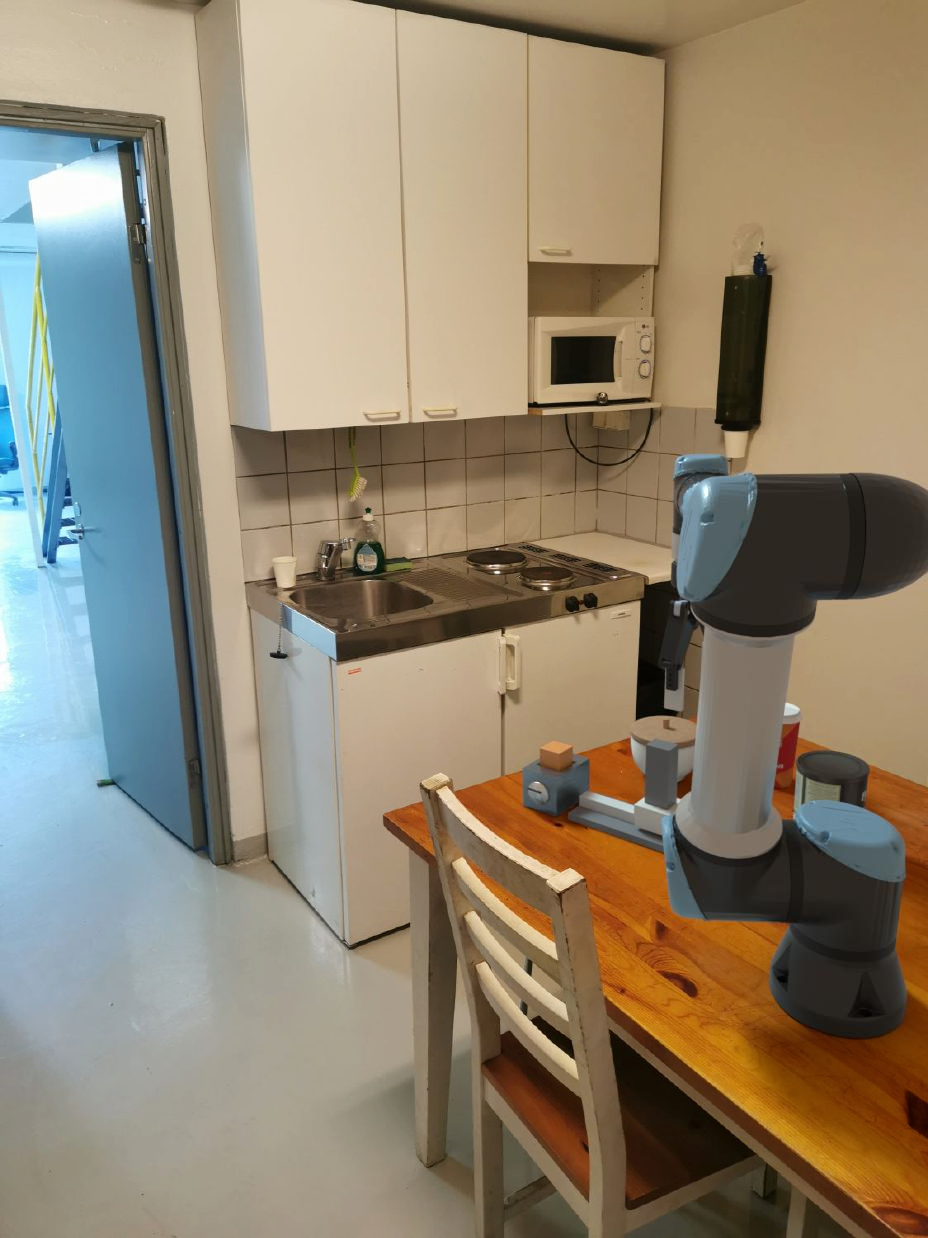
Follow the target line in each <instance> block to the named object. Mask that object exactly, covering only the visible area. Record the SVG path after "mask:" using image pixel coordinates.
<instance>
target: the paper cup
mask: <svg viewBox="0 0 928 1238" xmlns="http://www.w3.org/2000/svg"><path fill="white" fill-rule="evenodd" d="M802 720H803V715H802V713H801V709H800V707H798V706H796V705H795V704H793V703H789V702H786V703H785V711H784V718H783V725H782V732H781V739H780V746H779V754H778V761H777V768H776V775H775V782H774V789H775V790H777V789H785V788H789V787H790V786H792V785H791V784H792V781H793V775H794V768H795V763H796V754H797V747H798V739H799V734H800V733H799V732H800V726H801V721H802Z"/></svg>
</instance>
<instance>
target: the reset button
mask: <svg viewBox="0 0 928 1238" xmlns="http://www.w3.org/2000/svg"><path fill="white" fill-rule="evenodd" d="M573 748H574V747H573V745H570V744H566V743H564V742H560V741H557V740H552V741H550V742H549V743H545V744H544V745H543V746H541V747H539V758H540V766H542V767H545V768H548V769H552V770H555V771H558V772H561V771H563V770H564V769H566V768H568V767H569V766H571V765H573V754H574V751H573Z"/></svg>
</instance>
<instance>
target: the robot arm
mask: <svg viewBox="0 0 928 1238" xmlns="http://www.w3.org/2000/svg"><path fill="white" fill-rule="evenodd" d="M728 463H729V461H728V459H727V457H726V456H724V455H722V454H717V453H715V454H714V453H690V454H689V453H688V454H683V455H680V456H678V457H677V458H676V459H675V462H674V473H673V476H672V482H673V505H672V507H673V509H672V511H673V512H672V513H673V520H672V522H673V524H672V533H671V534H672V535H671V550H670V551H671V553H670V554H671V555H670V556H671V558H672V559H673V560H672V562H671V564H670V565H671V566H670V584H671V586H672V587H673V588H675V589H677V592H678V595H679V599H678V600H670V602H669V606H668V616H667V617H668V618H667V621H666V626H665V631H664V635H663V638H662V639H663V640H662V644H661V648H660V652H659V656H658V657H659V658H658V661H657V665H658V668H663V669H664V671H665V672H664V677H665V678H664V701H663V704H664V705H663V707H664V709H666V710H667V709H668V710H673V711H675V712H684V703H685V702H684V700H685V699H684V697H685V674H686V673H685V672H686V668H685V667H683V666H684V665H683V664H684V662H685V658H686V655H687V653H688V650H689V646H690V644H691V640H692V637H693V634H694V631H695V630H698V629H699V627H700V631H701V633H702V635H703V641H702V642H701V659H700V660H701V663H700V665H701V666H700V667H701V668H700V680H699V681H700V683H699V693H698V705H697V718H696V724H697V728H696V740H695V752H694V765H693V770H692V778H691V791H689V792H687V793H686V794H685V795H684V796H683V797H682V798H680V799H681V800H680V802H679V804H678V806H677V809H676V814H671V815H669V816H664V817H663V818H662V820H661V826H662V837H663V846H664V853H663V854H664V862H665V863H664V864H665V870H666V872H665V873H666V880H667V881H666V882H667V890H668V898H669V899H668V900H669V904H670V908H671V909H672V911H673V913H674V914H676V915H677V916H679V917H681V918H686V919H693V920H694V919H695V920H702V921H705V922H707V921H708V922H710V921H711V922H712V921H713V922H714V921H717V922H718V921H720V922H742V923H743V922H744V923H748V922H749V923H770V924H771V923H773V924H776V923H777V924H788V925H787V928H786V930H785V932H784V934H783V936H782V938H781V940H780V942H779V944H778V946H777V948H776V950H775V952H774V954H773V957H772V958H771V962H770V966H769V977H768V987H769V989H770V993H771V995H772V997H773V998H774V999H773V1000H775V1002H776V1003H777V1004H778V1005H779V1006H780V1008H781V1009H782V1010H783V1011H784V1012H786V1013H787V1014H788V1015H789V1016H791V1017H792V1018H794V1019H795V1020H796V1021H797V1022H799V1023H801V1024H803V1025H805V1026H807V1027H810V1028H811V1029H815V1030H817V1031H818V1032H819V1031H820V1032H823V1033H824V1034H829V1035H832V1036H837V1037H840V1038H841V1037H842V1038H851V1039H868V1038H875V1037H876V1038H877V1037H879V1036H883V1035H885V1034H889V1033H890V1032H892V1031H894V1030H895V1029H897V1028H898V1027H899V1026H900V1025H901V1024H902V1022H903V1021H904V1018H905V1016H906V1011H907V1001H908V993H907V992H908V991H907V986H906V983H905V979H904V975H903V971H902V967H901V963H900V959H899V956H898V953H897V950H896V946H897V937H898V930H899V920H900V911H901V905H902V904H901V903H902V897H903V896H902V895H903V889H904V888H903V887H904V880H905V879H906V877H907V876H906V875H907V872H906V871H907V870H906V844H905V841H904V838H903V836H902V834H901V833H900V832H899V830H898V829H897V828H896V827H895V826H894V825H893V824H892V823H890V822H889V821H888V820H886V819H885V818H883V817H882V816H880V815H878V814H876V813H874V812H872V811H871V810H868V809H866V808H865V809H864V808H861V807H858V806H855V805H851V804H848V803H843V802H837V801H829V800H815V801H811V802H810V803H805V804H803V805H801V806H800V808H799V809H798V811H797V812H796V814H795V819H793V818H792V819H790V818H787V819H786V818H784V819H782V817H781V814H780V813H779V811H778V810H777V808H776V807H775V806H774V805H773V803H772V801H773V796H774V789H775V788H774V782H775V775H776V768H777V761H778V754H779V746H780V739H781V732H782V725H783V718H784V711H785V703H787V695H788V687H789V681H790V673H791V667H792V666H791V665H792V659H793V654H794V652H793V651H794V645H795V639H796V638H795V637H796V635H799V634H801V633H803V632H804V631H806V630H808V629H809V627H811V625H812V624H813V623H814V621H815V617H816V611H817V606H818V601H847V600H849V601H851V600H869V599H873V598H879V597H882V596H886V595H889V594H890V595H891V594H893V593H896V592H898V591H900V590H902V589H905V588H907V587H908V586H911V585H913V584H914V583H915V582H917V581H918V580H919V579H921V578H922V577H923V576H925V575H927V573H928V489H926V488H925V487H923V486H922V485H920V484H918V483H915V482H913V481H911V480H908V479H904V478H901V477H898V476H894V475H889V474H884V473H882V474H881V473H873V472H848V473H846V472H845V473H843V472H842V473H833V472H832V473H828V472H827V473H825V472H824V473H774V474H773V473H772V474H771V473H768V474H767V473H764V474H762V473H760V474H756V473H755V474H753V472H743V473H739V474H736V475H735V474H733V475H730V473H729V464H728Z"/></svg>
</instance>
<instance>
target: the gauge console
mask: <svg viewBox="0 0 928 1238" xmlns="http://www.w3.org/2000/svg"><path fill="white" fill-rule="evenodd" d="M590 759H591V758H589V757H586V756H584V755H583V756H582V755H579V754H577V753H576V754H575V753H573V765H571V766H569V767H568V768H566V769H564V770H563V771H561V772H558V771H555V770H552V769H548V768H545V767H542V766H540V757H539V758H537V759H536V760H534V761H532V762H530V763H529V764H526V766H525V765H524V766H523V767H522V806H524V807H527V808H530V809H532V810H534V811H535V810H536V811H537V812H538V811H539V812H541V813H544V814H546V815H550V816H552V817H555V818H557V817H559V816H561V815H562V814H564V813H565V812H567V811H568V810H569V809H571V808H572V807H574V806H576V805H577V804H578V803H579V796H580V795H581V794H583V793H584V792H586V791H590V770H591V769H590V768H591V767H590V765H591V763H590V761H591V760H590Z"/></svg>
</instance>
